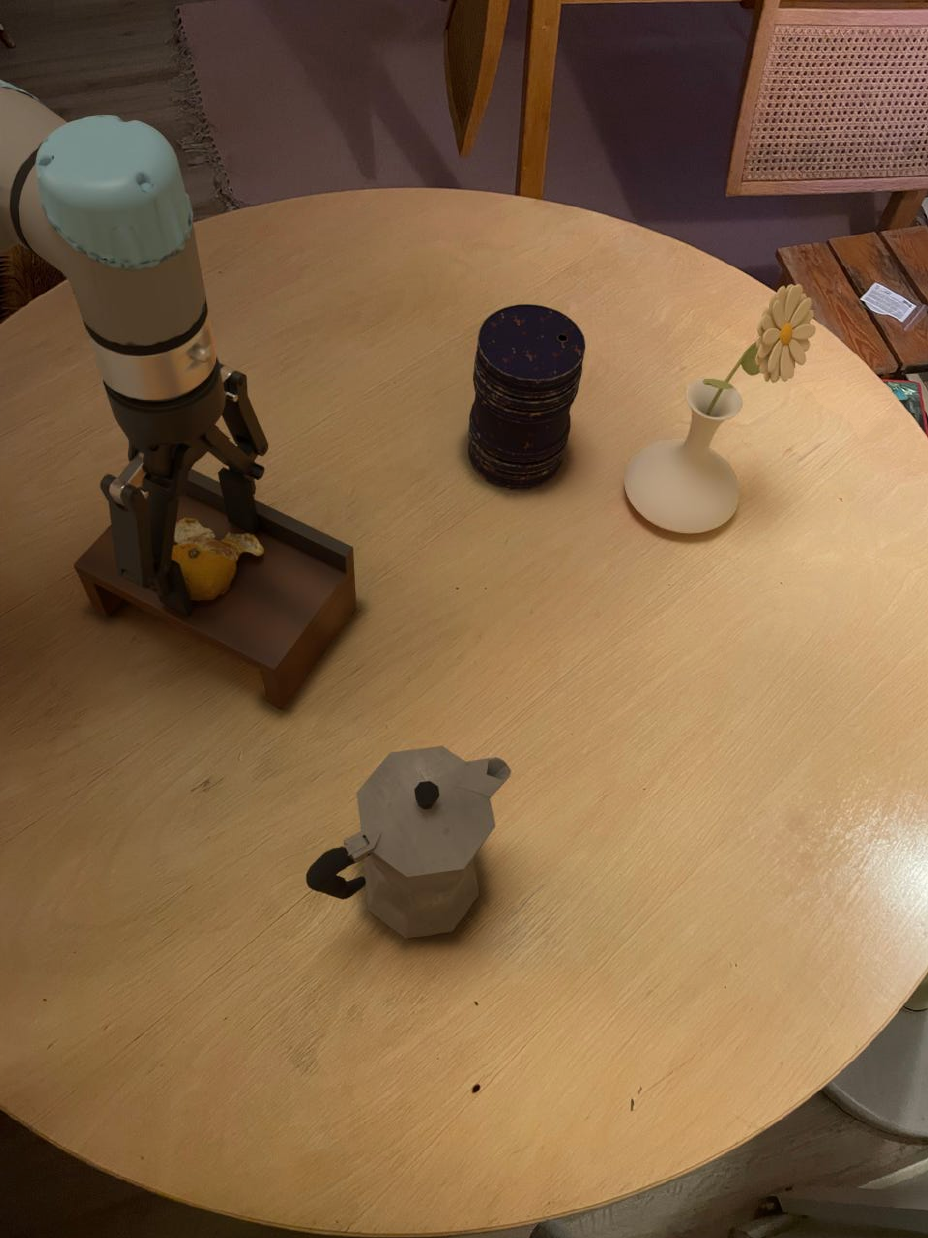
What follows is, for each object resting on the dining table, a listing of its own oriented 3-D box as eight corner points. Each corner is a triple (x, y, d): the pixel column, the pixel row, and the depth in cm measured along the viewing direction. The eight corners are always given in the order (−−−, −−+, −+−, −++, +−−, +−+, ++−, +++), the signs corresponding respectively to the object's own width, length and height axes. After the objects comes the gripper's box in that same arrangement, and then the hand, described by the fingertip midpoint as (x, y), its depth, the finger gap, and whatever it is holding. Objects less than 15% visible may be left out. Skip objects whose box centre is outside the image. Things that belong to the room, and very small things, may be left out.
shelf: (282, 710, 88) (271, 654, 80) (93, 609, 92) (65, 547, 84) (356, 608, 94) (353, 546, 86) (175, 517, 98) (156, 451, 90)
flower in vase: (656, 557, 99) (728, 363, 78) (600, 471, 104) (653, 268, 83) (770, 517, 102) (869, 321, 81) (710, 436, 108) (788, 232, 86)
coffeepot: (460, 792, 85) (475, 688, 70) (524, 889, 81) (554, 801, 66) (291, 887, 80) (267, 797, 65) (350, 996, 76) (339, 927, 61)
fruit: (270, 539, 89) (266, 512, 86) (236, 618, 84) (230, 593, 81) (179, 517, 89) (171, 490, 86) (140, 595, 85) (130, 569, 82)
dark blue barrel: (477, 496, 102) (489, 387, 89) (457, 422, 107) (465, 308, 94) (575, 484, 103) (600, 374, 90) (550, 411, 108) (571, 298, 96)
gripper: (99, 499, 61) (168, 682, 81) (299, 290, 72) (319, 496, 91) (0, 449, 63) (91, 640, 82) (210, 252, 74) (248, 462, 93)
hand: (211, 564), depth 87 cm, fingers closed on fruit, 9 cm apart
